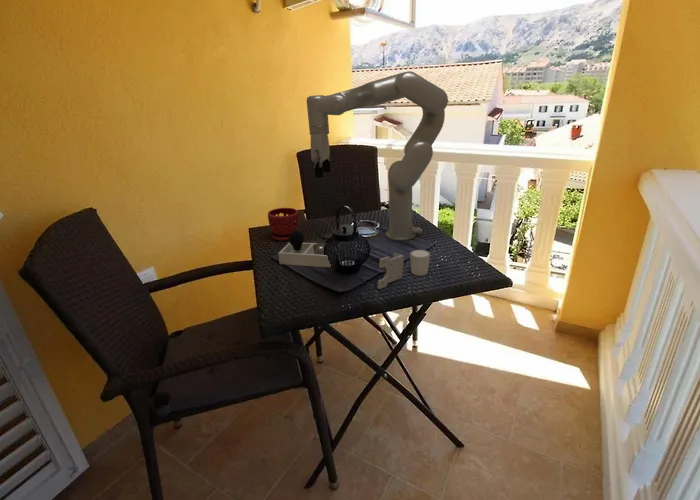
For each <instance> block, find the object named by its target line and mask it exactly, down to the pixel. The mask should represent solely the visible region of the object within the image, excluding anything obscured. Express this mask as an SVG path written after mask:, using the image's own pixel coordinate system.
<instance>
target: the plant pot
mask: <svg viewBox="0 0 700 500" xmlns="http://www.w3.org/2000/svg"><path fill="white" fill-rule="evenodd" d="M281 214H282V215H281ZM299 218H300V217H299V211H298V209H295V208H293V207H279V208H273V209H271V210H269V211H268V212H267V220H268V224H269V228H270V230H271V234H270V235H271V237H272V239H274V240H277V241H289V235H290V233H292V232H293V231H298V226H299Z"/></svg>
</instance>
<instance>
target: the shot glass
mask: <svg viewBox="0 0 700 500" xmlns="http://www.w3.org/2000/svg"><path fill="white" fill-rule="evenodd" d="M409 258H410V259H409V260H410V270H411V271H410V272H411V274H413V275H415V276H425V275H428V273H429V266H430V259H431V253H430V251H428V250H425V249H414V250H412V251H410V252H409Z"/></svg>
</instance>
